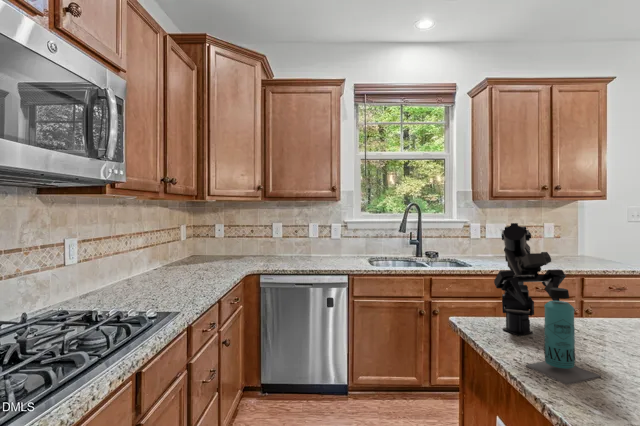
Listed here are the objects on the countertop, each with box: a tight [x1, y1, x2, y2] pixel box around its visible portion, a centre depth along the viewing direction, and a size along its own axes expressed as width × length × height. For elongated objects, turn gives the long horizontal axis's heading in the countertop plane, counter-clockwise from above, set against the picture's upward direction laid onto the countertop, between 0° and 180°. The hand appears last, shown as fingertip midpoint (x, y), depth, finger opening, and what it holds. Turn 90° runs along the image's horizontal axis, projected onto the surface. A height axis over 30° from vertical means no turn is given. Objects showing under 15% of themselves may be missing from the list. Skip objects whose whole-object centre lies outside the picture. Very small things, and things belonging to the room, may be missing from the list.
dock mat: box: [525, 360, 602, 386], centre depth 91 cm, size 11×11×1 cm
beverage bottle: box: [543, 287, 576, 369], centre depth 91 cm, size 6×7×20 cm
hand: (542, 304), depth 103 cm, fingers open, 9 cm apart
